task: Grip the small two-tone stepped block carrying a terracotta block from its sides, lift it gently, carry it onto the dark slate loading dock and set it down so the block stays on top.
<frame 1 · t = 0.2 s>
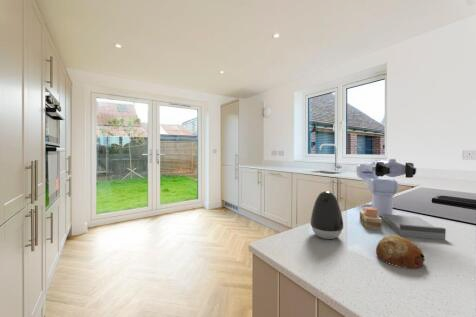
hand: (401, 171, 77), 21 cm above the worktop, tool horizontal, fingers open, 7 cm apart
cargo: (370, 214, 84), point 4 cm above the worktop, touching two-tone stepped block
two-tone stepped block: (369, 224, 84), on the worktop, touching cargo
dark grey egg shape: (326, 236, 73), on the worktop
brown rounded lump: (399, 260, 58), on the worktop
dock: (409, 227, 80), on the worktop
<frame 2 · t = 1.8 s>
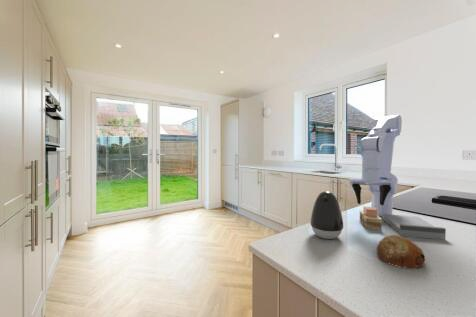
hand: (370, 204, 83), 8 cm above the worktop, tool pointing down, fingers open, 7 cm apart
nothing on the worktop moved.
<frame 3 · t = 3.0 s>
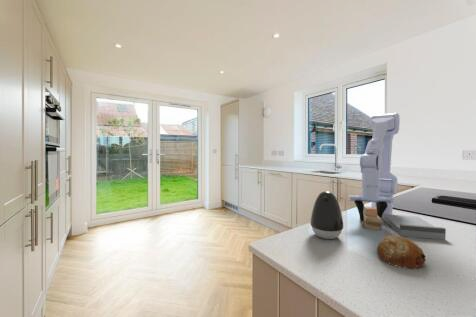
hand: (369, 220, 84), 2 cm above the worktop, tool pointing down, fingers closed on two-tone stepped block, 5 cm apart
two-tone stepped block: (369, 224, 84), on the worktop, touching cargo, gripper
everything else where it was.
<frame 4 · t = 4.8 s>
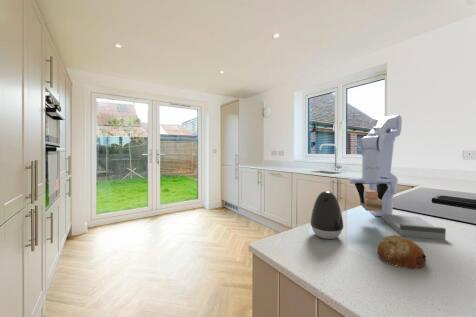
hand: (370, 203, 83), 8 cm above the worktop, tool pointing down, fingers closed on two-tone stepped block, 5 cm apart
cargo: (370, 197, 83), point 11 cm above the worktop, touching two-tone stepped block
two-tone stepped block: (370, 207, 83), point 7 cm above the worktop, touching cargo, gripper
everything else where it was.
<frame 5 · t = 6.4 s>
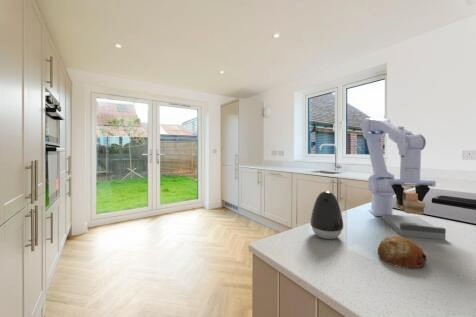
hand: (409, 205, 80), 8 cm above the worktop, tool pointing down, fingers closed on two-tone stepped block, 5 cm apart
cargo: (408, 199, 80), point 11 cm above the worktop, touching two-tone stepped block
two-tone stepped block: (409, 210, 80), point 7 cm above the worktop, touching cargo, gripper
everything else where it was.
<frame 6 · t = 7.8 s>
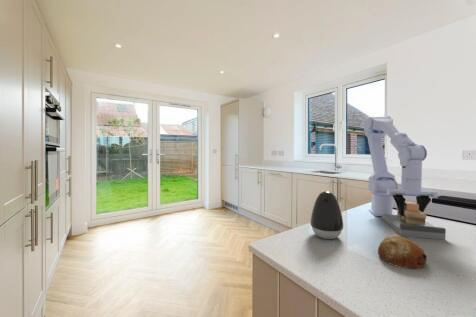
hand: (410, 215, 80), 5 cm above the worktop, tool pointing down, fingers closed on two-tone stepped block, 5 cm apart
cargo: (410, 209, 80), point 7 cm above the worktop, touching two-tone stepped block
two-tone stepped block: (410, 220, 80), point 3 cm above the worktop, touching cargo, gripper
everything else where it was.
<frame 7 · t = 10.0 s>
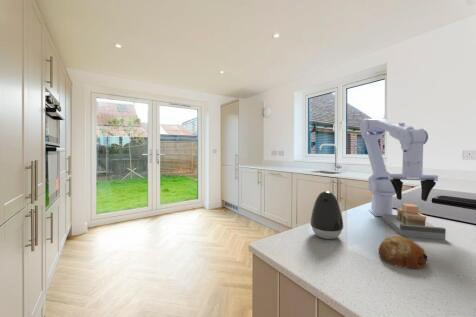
hand: (411, 199, 80), 10 cm above the worktop, tool pointing down, fingers open, 7 cm apart
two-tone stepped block: (410, 222, 80), point 2 cm above the worktop, touching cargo, dock
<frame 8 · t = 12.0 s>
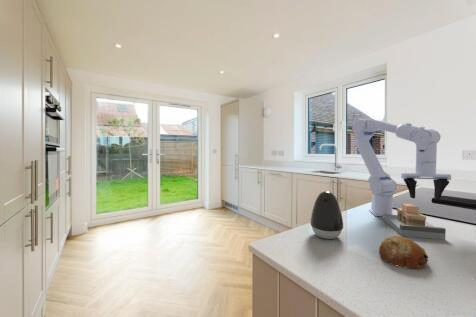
hand: (424, 198, 82), 10 cm above the worktop, tool pointing down, fingers open, 7 cm apart
nothing on the worktop moved.
at the end: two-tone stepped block inside the target area on the dock (0.1 cm from its centre), point 2.0 cm above the dock's base; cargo 0.3 cm off-centre on the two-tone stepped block, point 4.0 cm above the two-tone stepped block's base; the gripper is holding nothing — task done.
